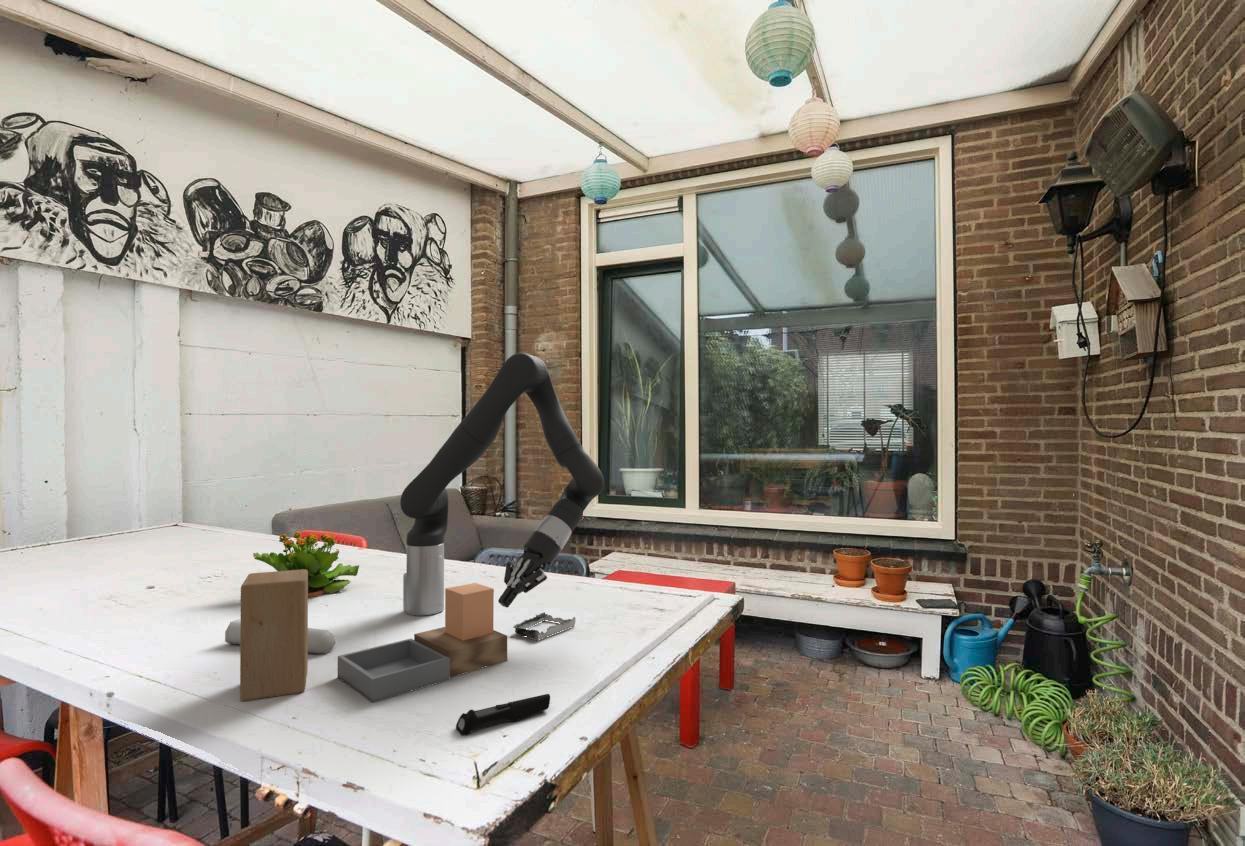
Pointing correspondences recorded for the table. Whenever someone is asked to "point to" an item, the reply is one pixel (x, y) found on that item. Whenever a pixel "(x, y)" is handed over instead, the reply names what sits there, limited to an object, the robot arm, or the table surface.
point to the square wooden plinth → (466, 649)
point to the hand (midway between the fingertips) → (502, 604)
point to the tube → (317, 638)
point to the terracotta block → (469, 611)
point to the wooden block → (274, 634)
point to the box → (393, 669)
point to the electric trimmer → (501, 713)
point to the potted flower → (311, 562)
